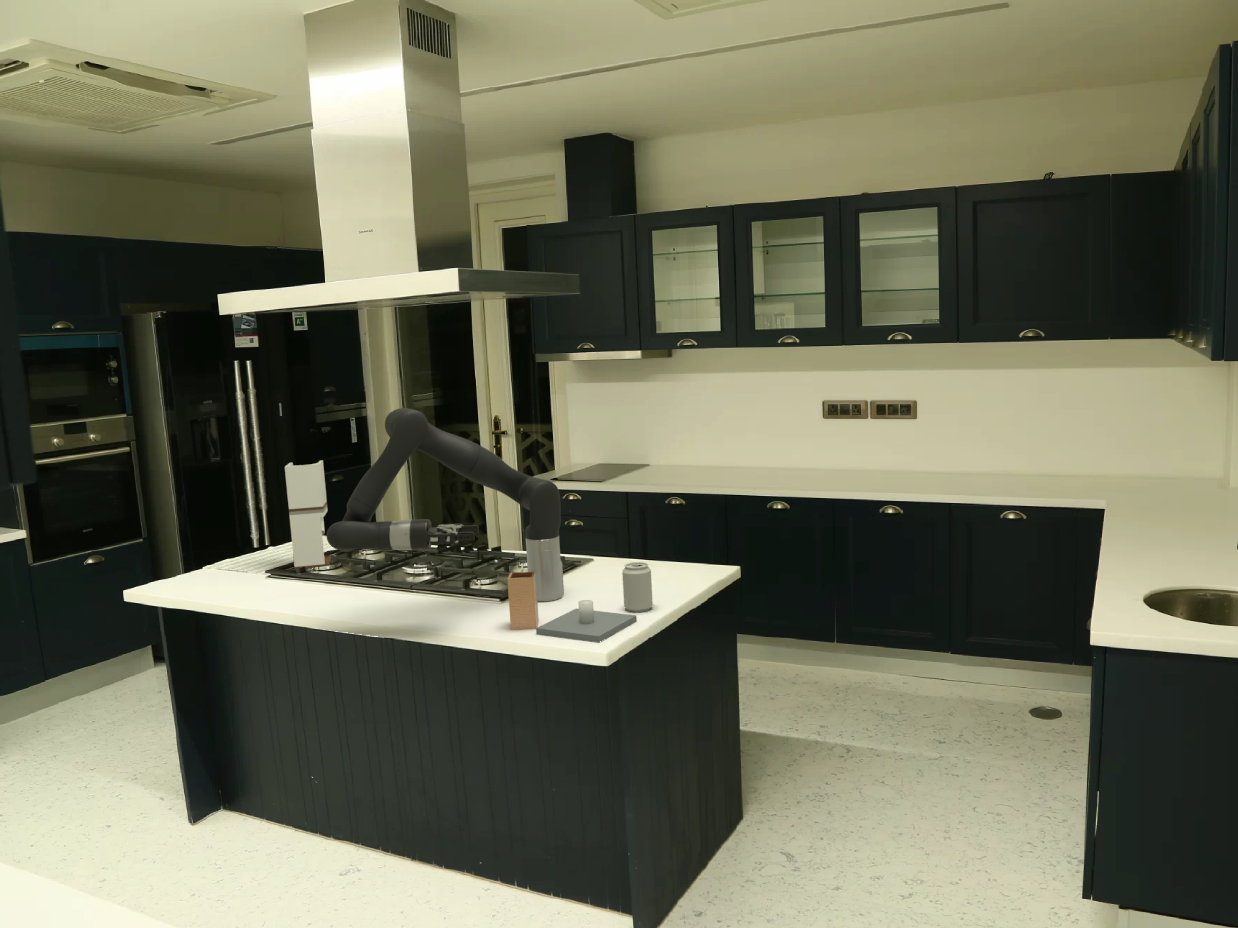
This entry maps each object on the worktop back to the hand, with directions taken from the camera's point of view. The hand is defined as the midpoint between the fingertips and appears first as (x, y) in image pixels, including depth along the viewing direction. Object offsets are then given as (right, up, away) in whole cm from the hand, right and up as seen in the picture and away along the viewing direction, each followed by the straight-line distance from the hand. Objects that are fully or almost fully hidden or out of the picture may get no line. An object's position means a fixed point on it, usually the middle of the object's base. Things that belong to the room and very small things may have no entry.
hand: (476, 532), depth 242 cm
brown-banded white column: (-66, -18, +82) cm, 107 cm away
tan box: (+12, -24, +3) cm, 26 cm away
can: (+41, -21, +13) cm, 47 cm away
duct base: (+28, -23, -1) cm, 36 cm away
